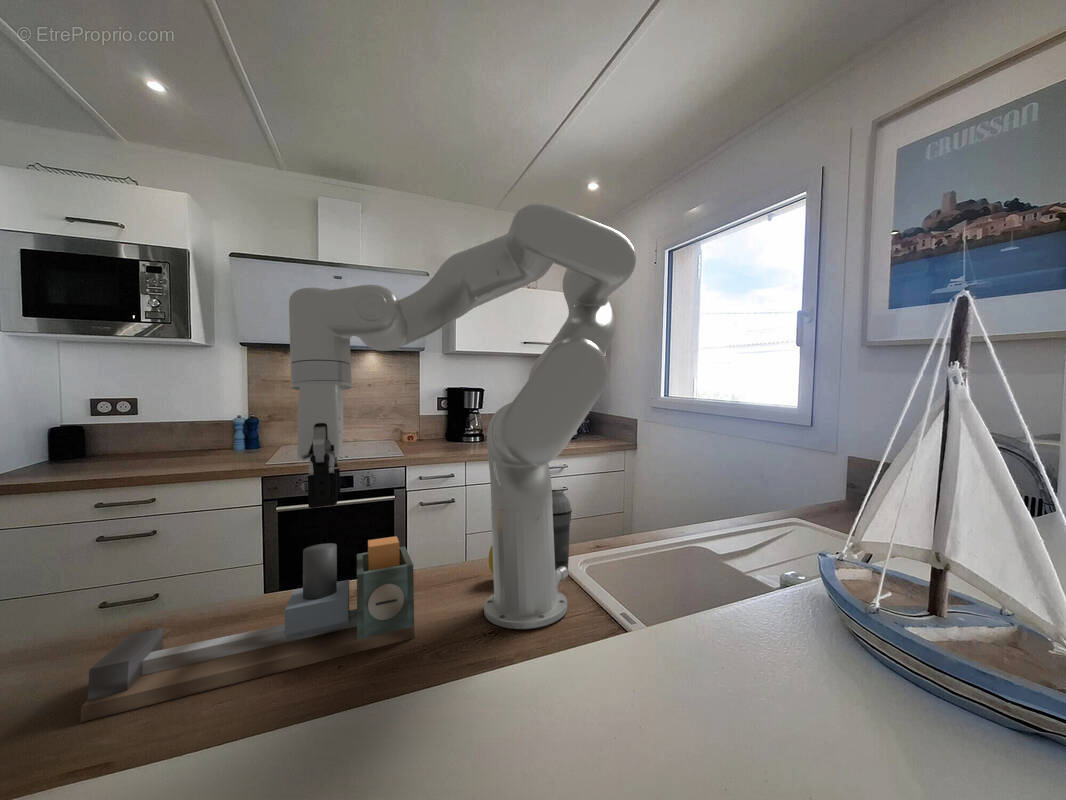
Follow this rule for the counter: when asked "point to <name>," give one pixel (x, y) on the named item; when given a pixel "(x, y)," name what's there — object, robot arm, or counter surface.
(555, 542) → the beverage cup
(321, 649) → the rail base
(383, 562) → the orange block
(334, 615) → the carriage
